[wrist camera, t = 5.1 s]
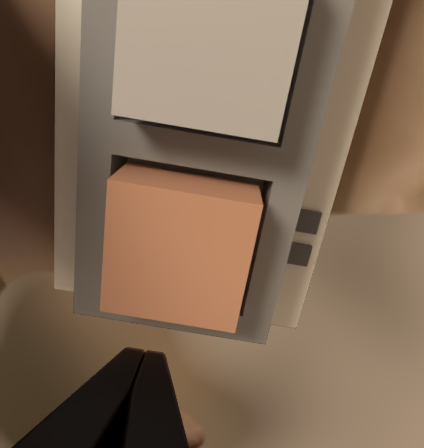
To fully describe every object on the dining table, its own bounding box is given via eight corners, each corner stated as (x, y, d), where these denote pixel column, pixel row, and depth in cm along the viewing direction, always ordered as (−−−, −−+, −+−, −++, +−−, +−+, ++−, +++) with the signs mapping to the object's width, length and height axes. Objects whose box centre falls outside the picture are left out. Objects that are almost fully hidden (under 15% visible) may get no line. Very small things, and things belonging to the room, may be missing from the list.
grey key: (131, 107, 14) (111, 114, 11) (144, -60, 12) (123, -92, 9) (269, 131, 14) (277, 143, 11) (304, -32, 12) (321, -57, 10)
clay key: (118, 277, 16) (99, 311, 14) (127, 162, 14) (107, 179, 12) (234, 296, 16) (234, 333, 14) (258, 184, 14) (263, 205, 12)
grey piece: (70, 269, 21) (28, 319, 16) (85, -402, 12) (4, -663, 8) (290, 305, 21) (305, 364, 16) (468, -331, 12) (596, -550, 8)
